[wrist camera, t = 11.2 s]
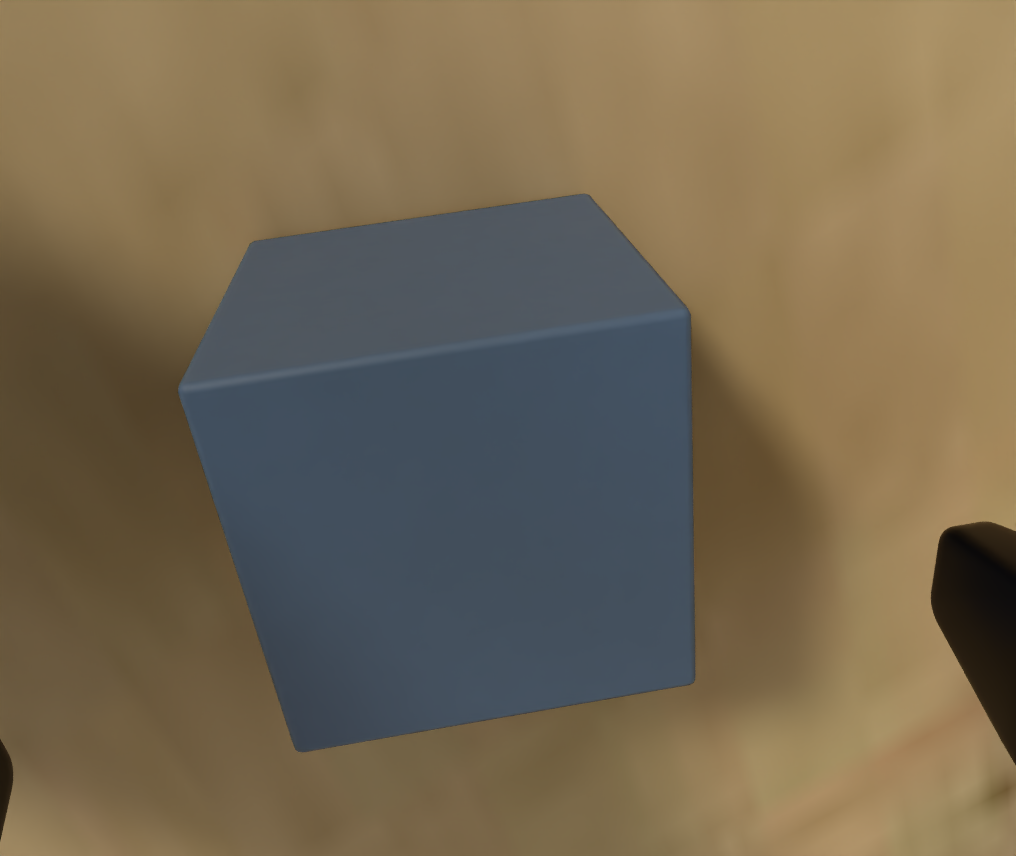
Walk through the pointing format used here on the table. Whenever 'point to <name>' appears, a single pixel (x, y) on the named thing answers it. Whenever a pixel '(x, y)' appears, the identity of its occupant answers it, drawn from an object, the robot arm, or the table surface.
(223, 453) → the blue block
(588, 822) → the table surface
